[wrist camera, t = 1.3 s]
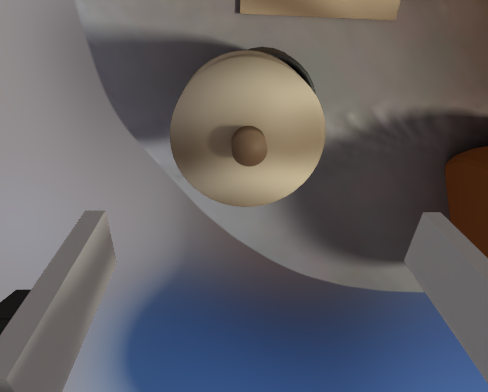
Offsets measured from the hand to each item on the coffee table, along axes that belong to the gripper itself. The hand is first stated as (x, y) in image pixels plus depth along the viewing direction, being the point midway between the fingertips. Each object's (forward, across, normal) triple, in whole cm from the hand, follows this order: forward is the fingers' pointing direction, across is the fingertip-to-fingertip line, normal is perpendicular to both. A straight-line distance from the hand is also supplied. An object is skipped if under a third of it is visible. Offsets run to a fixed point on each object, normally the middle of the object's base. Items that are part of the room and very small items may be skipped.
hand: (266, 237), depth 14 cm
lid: (+15, 0, 0) cm, 15 cm away
